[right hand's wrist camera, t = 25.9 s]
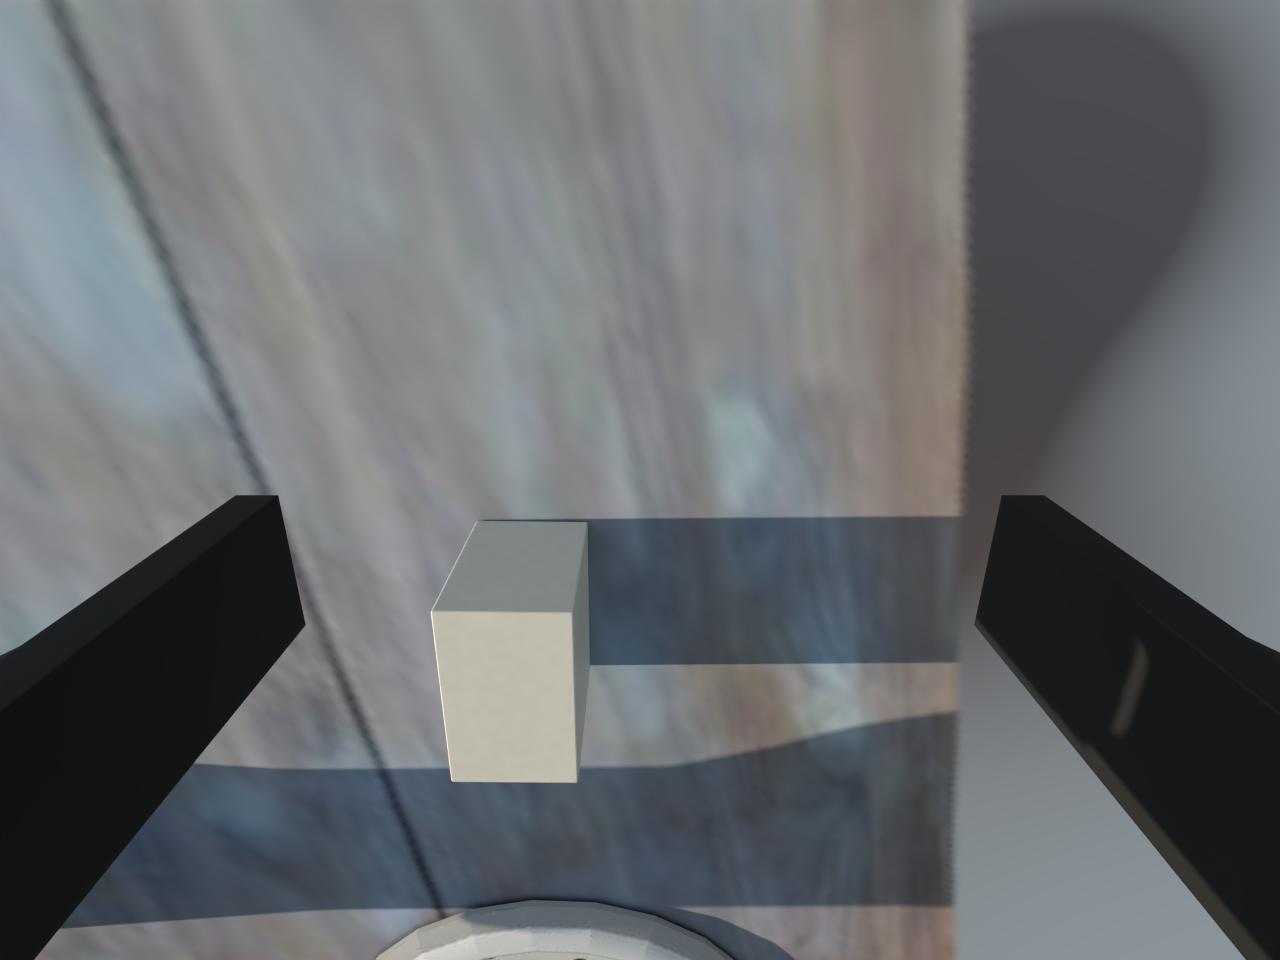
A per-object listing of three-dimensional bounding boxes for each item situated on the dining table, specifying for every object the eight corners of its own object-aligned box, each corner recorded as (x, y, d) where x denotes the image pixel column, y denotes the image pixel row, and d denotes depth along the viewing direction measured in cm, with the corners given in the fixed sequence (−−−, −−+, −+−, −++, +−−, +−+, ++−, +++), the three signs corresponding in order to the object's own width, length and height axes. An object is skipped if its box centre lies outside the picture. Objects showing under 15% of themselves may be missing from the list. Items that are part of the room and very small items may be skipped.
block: (488, 665, 35) (451, 782, 28) (476, 520, 32) (429, 611, 25) (590, 666, 36) (578, 783, 28) (587, 521, 32) (573, 612, 25)
